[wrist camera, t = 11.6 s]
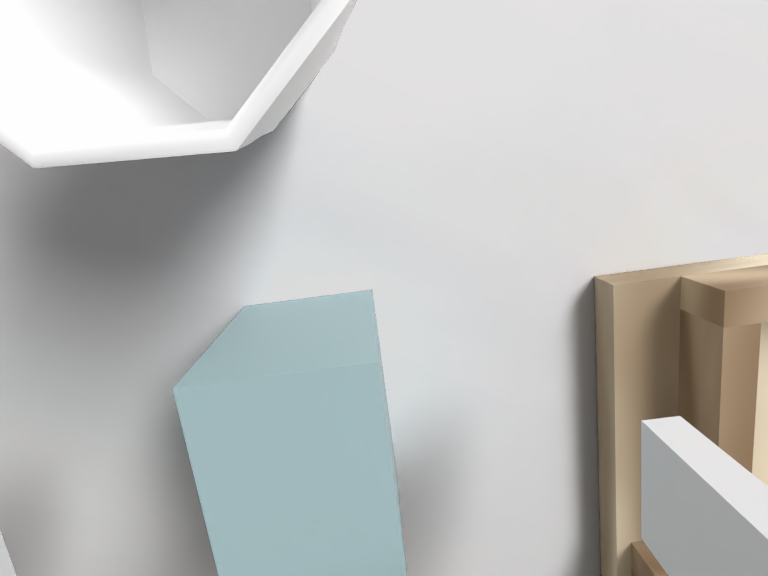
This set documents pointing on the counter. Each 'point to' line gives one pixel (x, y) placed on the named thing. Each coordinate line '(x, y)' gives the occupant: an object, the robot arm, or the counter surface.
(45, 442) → the counter surface
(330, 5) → the cup
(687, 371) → the tray
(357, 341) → the pale teal block
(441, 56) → the counter surface
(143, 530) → the counter surface
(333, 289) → the counter surface
